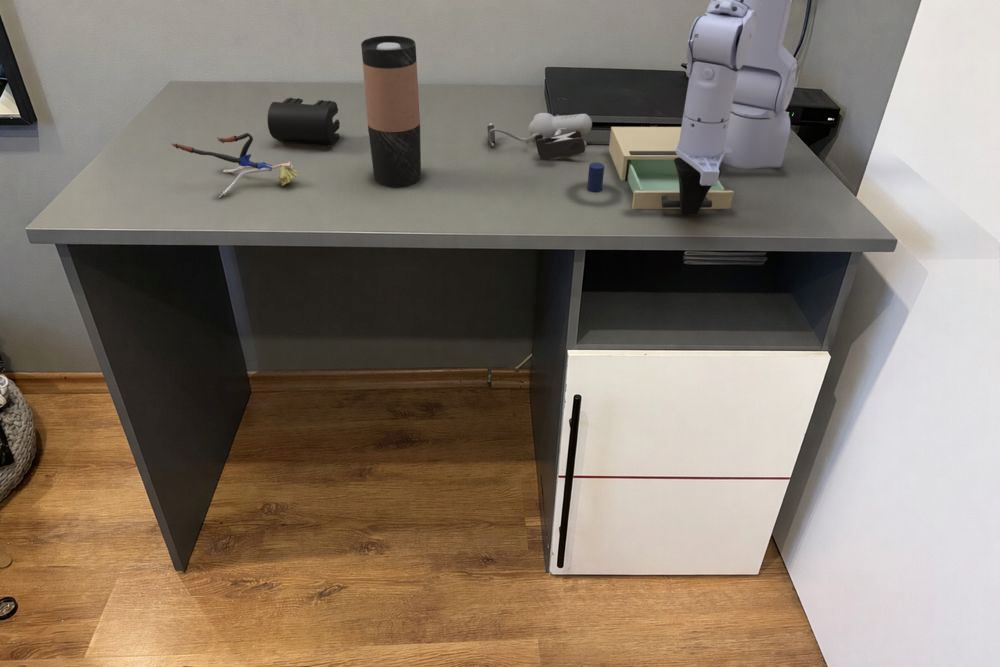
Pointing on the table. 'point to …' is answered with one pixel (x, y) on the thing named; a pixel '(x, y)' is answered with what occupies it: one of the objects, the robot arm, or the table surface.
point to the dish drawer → (642, 145)
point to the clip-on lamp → (554, 134)
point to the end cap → (303, 122)
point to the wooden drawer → (666, 187)
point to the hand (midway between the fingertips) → (688, 212)
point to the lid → (595, 177)
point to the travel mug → (392, 109)
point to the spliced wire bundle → (245, 161)
